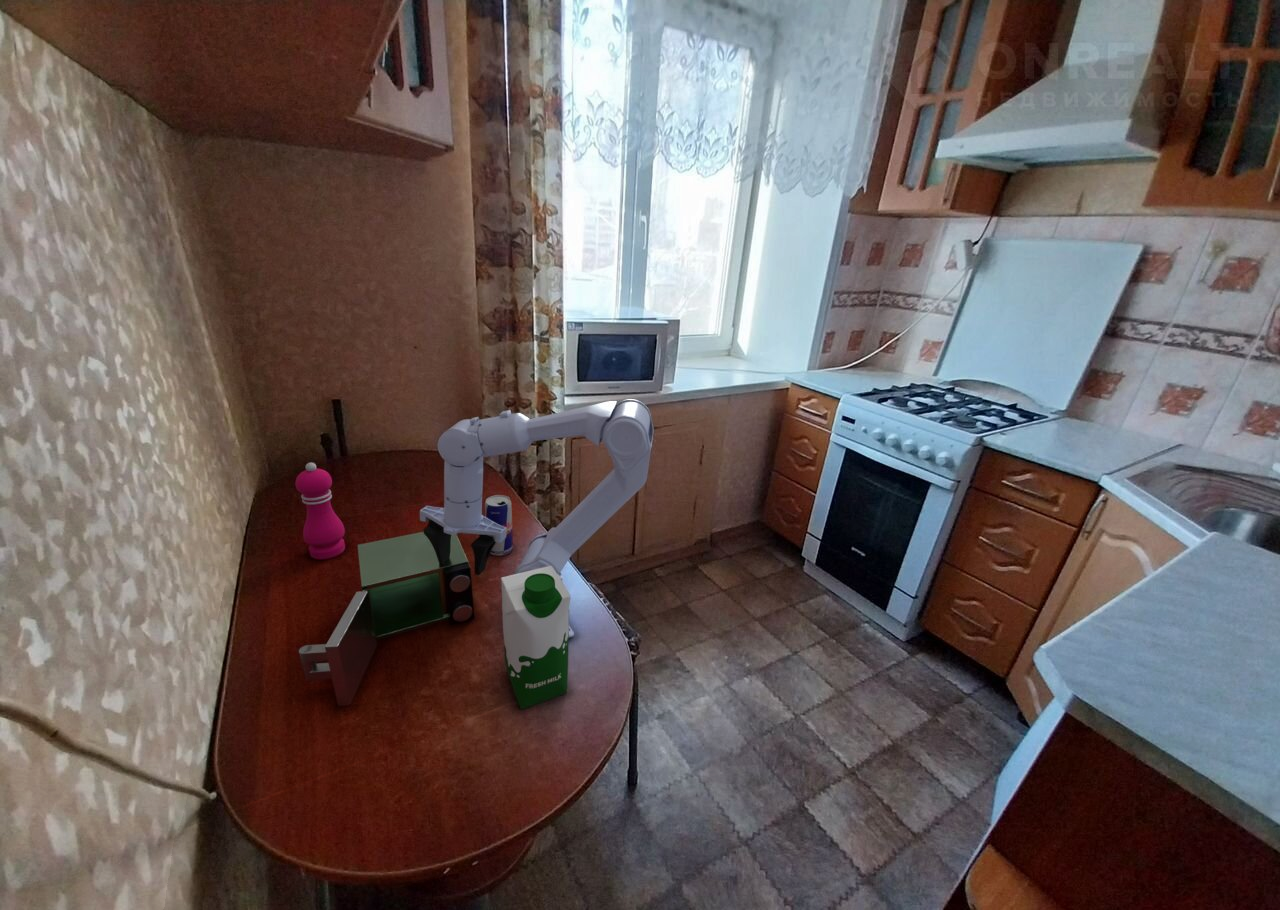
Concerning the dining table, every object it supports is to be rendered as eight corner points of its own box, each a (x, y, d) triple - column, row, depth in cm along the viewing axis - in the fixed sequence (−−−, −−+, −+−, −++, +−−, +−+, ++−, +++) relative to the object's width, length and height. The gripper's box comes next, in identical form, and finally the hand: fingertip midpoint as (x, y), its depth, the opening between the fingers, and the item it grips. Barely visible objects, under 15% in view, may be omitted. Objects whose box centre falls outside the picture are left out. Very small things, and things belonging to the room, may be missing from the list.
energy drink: (498, 559, 104) (495, 509, 100) (482, 550, 107) (479, 500, 103) (518, 549, 108) (516, 500, 104) (502, 540, 111) (500, 492, 107)
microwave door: (300, 709, 68) (284, 649, 64) (334, 648, 79) (322, 592, 75) (350, 705, 69) (337, 646, 65) (377, 645, 80) (367, 590, 76)
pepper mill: (331, 538, 107) (314, 453, 100) (356, 547, 105) (340, 460, 98) (299, 555, 101) (278, 465, 94) (324, 564, 99) (305, 473, 91)
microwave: (475, 621, 87) (471, 568, 83) (372, 651, 79) (362, 595, 75) (457, 573, 99) (452, 525, 95) (366, 596, 91) (357, 544, 87)
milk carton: (516, 717, 70) (511, 601, 62) (500, 671, 77) (494, 562, 69) (575, 695, 74) (577, 584, 66) (554, 654, 81) (554, 549, 73)
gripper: (406, 493, 76) (408, 567, 81) (492, 517, 74) (488, 591, 79) (434, 476, 83) (435, 545, 88) (514, 497, 80) (510, 567, 85)
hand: (462, 566), depth 84 cm, fingers open, 6 cm apart
